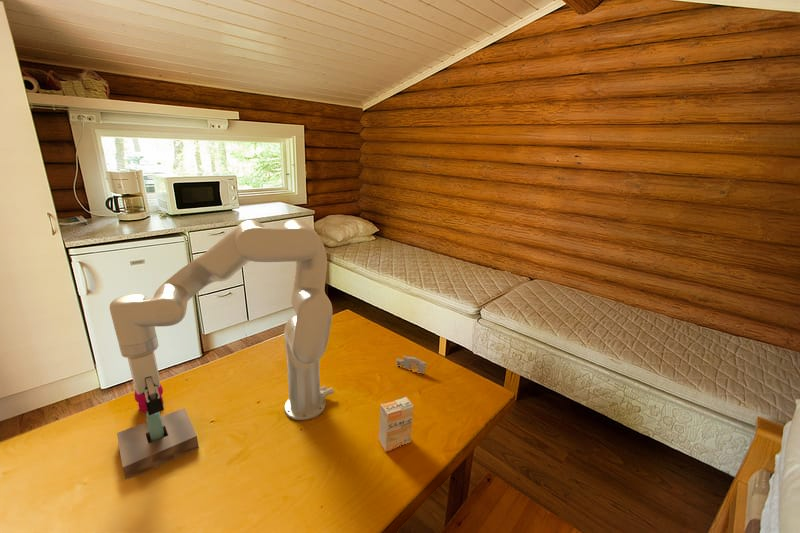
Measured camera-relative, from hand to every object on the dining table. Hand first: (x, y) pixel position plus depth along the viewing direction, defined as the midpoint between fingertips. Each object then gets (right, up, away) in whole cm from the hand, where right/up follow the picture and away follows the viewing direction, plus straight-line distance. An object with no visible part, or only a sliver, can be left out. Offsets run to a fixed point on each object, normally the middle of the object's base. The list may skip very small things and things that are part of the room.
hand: (152, 401), depth 92 cm
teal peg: (-1, -14, +4) cm, 14 cm away
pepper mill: (-14, -8, +19) cm, 25 cm away
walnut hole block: (-1, -14, +4) cm, 14 cm away
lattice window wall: (+68, -5, +44) cm, 81 cm away
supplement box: (+63, -15, +9) cm, 65 cm away
